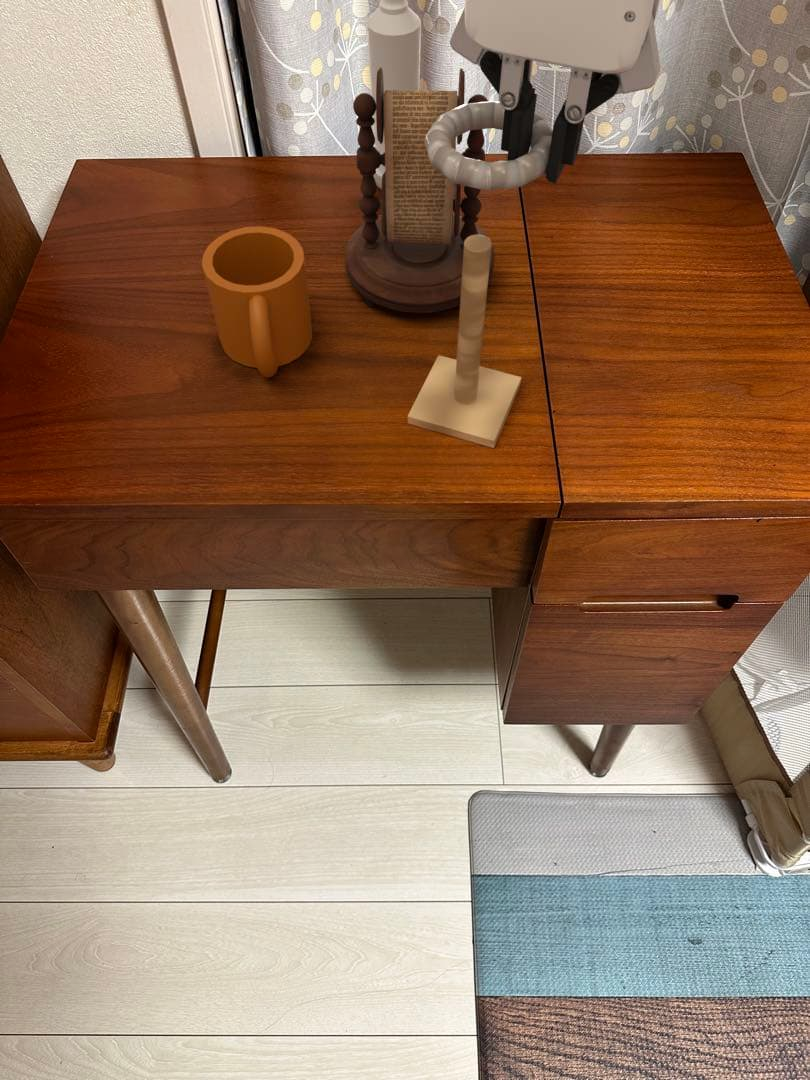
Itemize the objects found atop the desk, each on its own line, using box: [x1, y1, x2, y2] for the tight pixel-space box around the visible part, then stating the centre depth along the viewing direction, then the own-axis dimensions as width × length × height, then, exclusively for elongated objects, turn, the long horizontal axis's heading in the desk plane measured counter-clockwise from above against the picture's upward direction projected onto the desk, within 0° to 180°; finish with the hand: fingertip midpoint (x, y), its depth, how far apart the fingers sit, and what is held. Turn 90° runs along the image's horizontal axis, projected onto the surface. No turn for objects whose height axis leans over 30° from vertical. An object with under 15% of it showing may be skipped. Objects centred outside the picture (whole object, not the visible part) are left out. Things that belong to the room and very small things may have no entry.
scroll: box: [344, 67, 495, 314], centre depth 74 cm, size 15×15×20 cm
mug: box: [201, 225, 313, 378], centre depth 73 cm, size 9×12×9 cm
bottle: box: [366, 0, 422, 191], centre depth 80 cm, size 5×5×25 cm
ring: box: [425, 100, 553, 192], centre depth 53 cm, size 8×8×2 cm
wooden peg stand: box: [407, 235, 522, 449], centre depth 66 cm, size 8×8×17 cm
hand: (537, 164), depth 52 cm, fingers closed on ring, 2 cm apart
